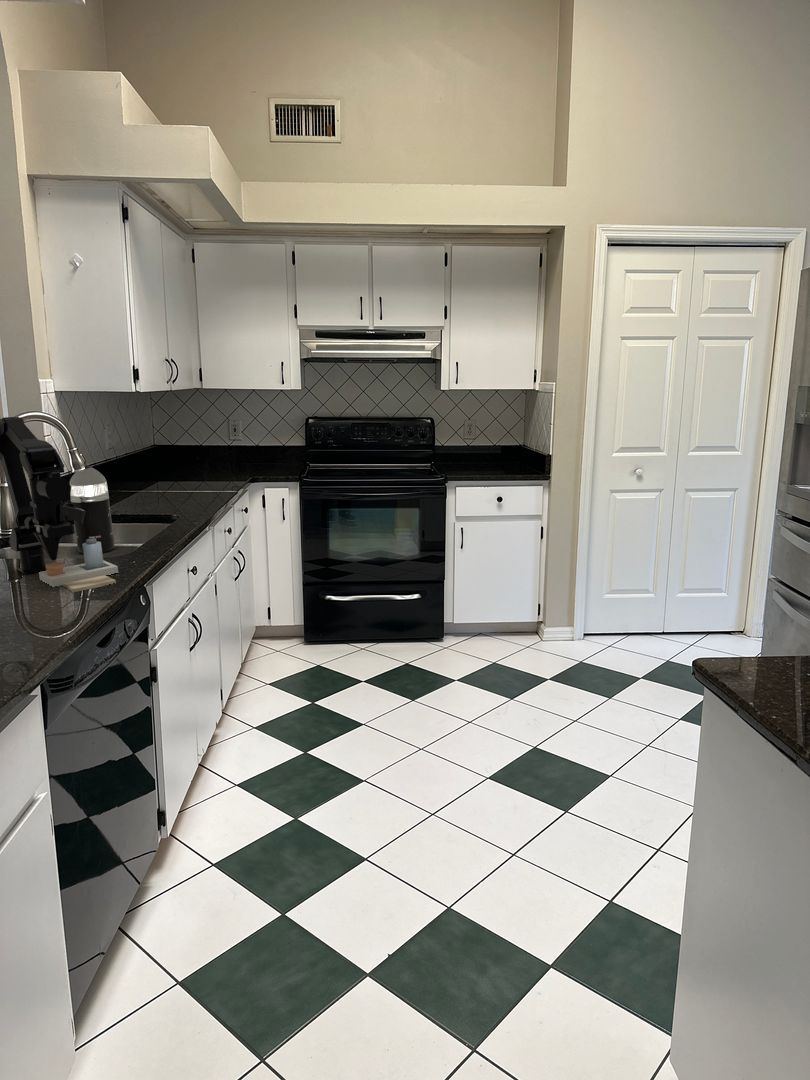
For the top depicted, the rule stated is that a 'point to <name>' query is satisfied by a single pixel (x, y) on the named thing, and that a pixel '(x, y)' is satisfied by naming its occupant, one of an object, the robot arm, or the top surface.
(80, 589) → the pad
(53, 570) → the plunger
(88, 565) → the cylinder
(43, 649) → the top surface
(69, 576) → the white tray
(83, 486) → the black cylindrical canister
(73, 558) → the top surface
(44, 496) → the robot arm
